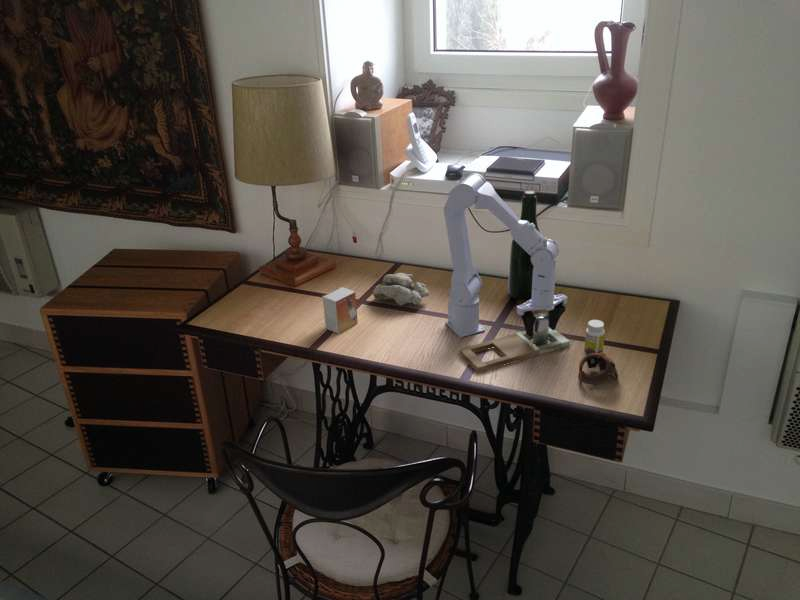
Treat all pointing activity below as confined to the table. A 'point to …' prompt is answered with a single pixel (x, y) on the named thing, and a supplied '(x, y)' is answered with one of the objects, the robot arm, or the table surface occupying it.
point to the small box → (340, 310)
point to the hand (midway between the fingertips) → (540, 331)
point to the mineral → (401, 289)
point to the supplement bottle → (595, 336)
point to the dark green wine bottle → (522, 254)
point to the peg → (541, 329)
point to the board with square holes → (511, 349)
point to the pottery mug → (593, 361)
